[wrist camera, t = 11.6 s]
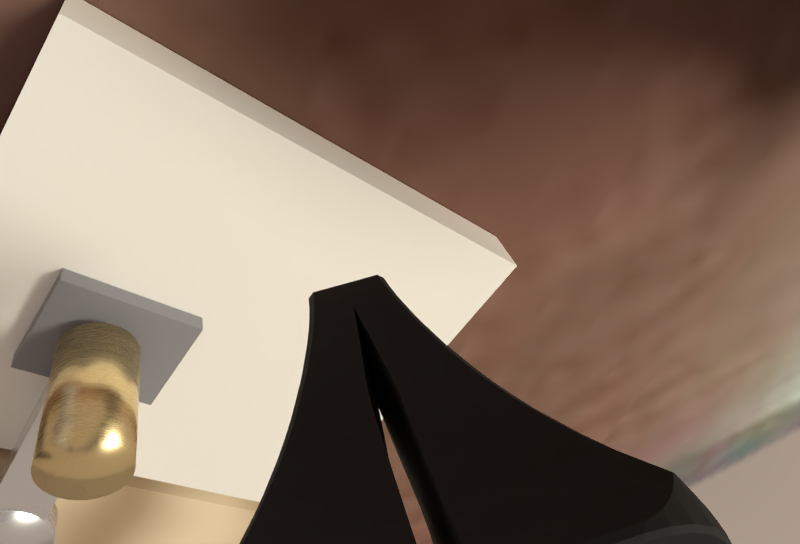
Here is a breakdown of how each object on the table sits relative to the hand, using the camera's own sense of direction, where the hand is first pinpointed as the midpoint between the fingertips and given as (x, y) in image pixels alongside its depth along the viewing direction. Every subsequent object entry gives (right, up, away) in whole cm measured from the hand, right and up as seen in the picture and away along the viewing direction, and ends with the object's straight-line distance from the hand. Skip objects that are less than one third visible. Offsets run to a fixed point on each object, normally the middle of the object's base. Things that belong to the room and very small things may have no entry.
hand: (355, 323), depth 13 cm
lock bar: (-11, -5, +9) cm, 15 cm away
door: (-6, 0, +11) cm, 13 cm away
